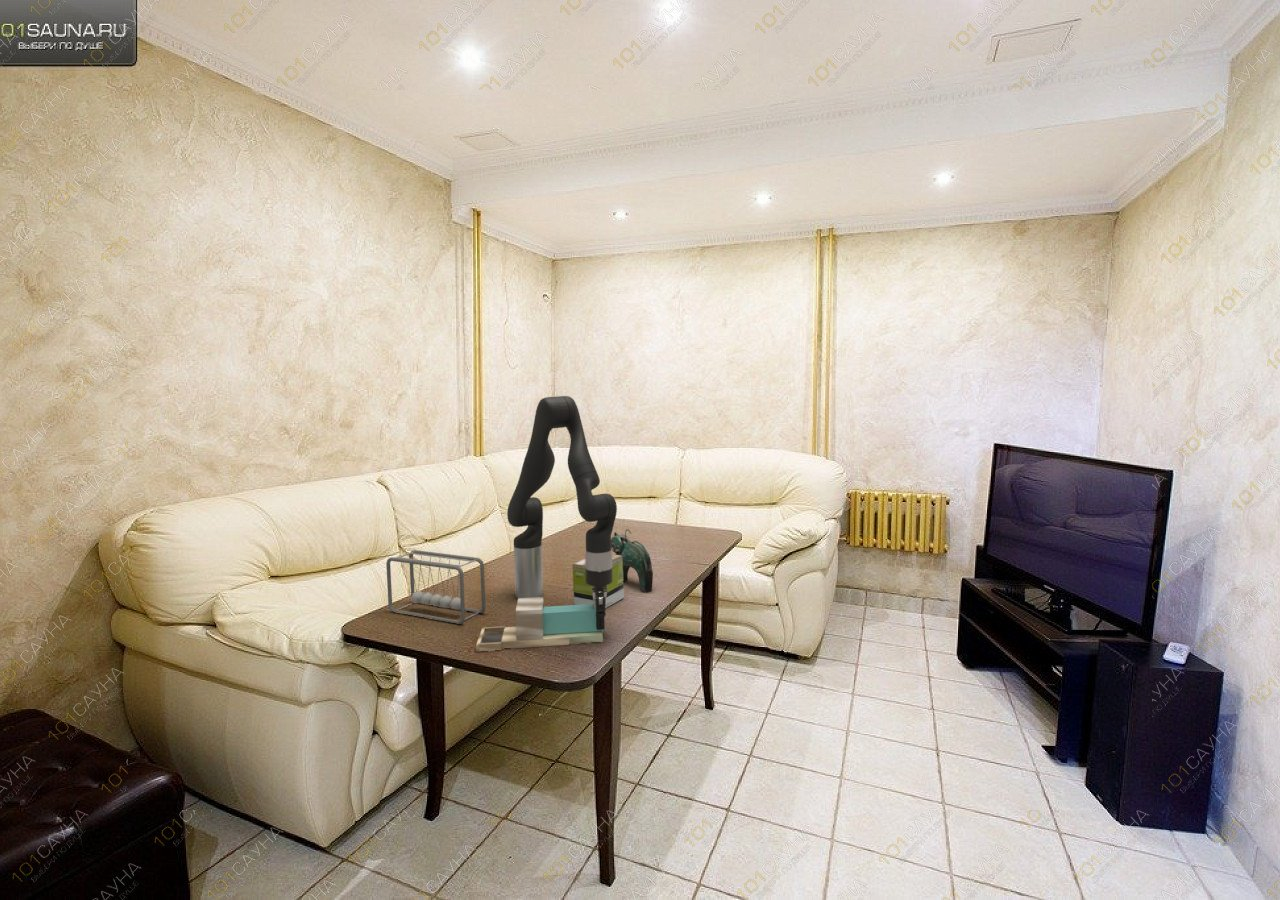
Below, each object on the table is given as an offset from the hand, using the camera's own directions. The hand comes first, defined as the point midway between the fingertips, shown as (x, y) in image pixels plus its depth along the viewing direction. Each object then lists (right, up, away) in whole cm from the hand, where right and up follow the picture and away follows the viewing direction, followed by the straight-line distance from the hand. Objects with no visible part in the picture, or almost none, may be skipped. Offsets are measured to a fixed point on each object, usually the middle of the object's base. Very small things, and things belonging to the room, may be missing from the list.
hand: (599, 625), depth 163 cm
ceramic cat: (+9, +1, +44) cm, 45 cm away
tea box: (-2, -1, +26) cm, 26 cm away
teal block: (-9, -1, -1) cm, 9 cm away
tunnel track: (-16, -3, -2) cm, 16 cm away
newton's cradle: (-52, -2, +19) cm, 56 cm away
